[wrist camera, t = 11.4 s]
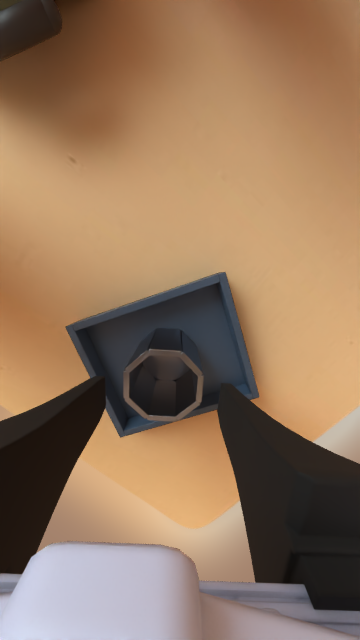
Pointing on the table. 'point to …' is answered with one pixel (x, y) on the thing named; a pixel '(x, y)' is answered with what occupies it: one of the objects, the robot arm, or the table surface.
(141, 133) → the table surface
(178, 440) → the table surface
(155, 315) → the tray
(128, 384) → the faceted metal cup
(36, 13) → the drawer
